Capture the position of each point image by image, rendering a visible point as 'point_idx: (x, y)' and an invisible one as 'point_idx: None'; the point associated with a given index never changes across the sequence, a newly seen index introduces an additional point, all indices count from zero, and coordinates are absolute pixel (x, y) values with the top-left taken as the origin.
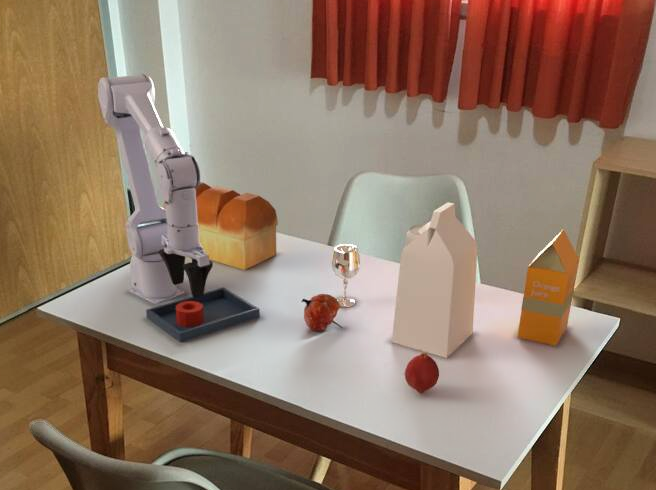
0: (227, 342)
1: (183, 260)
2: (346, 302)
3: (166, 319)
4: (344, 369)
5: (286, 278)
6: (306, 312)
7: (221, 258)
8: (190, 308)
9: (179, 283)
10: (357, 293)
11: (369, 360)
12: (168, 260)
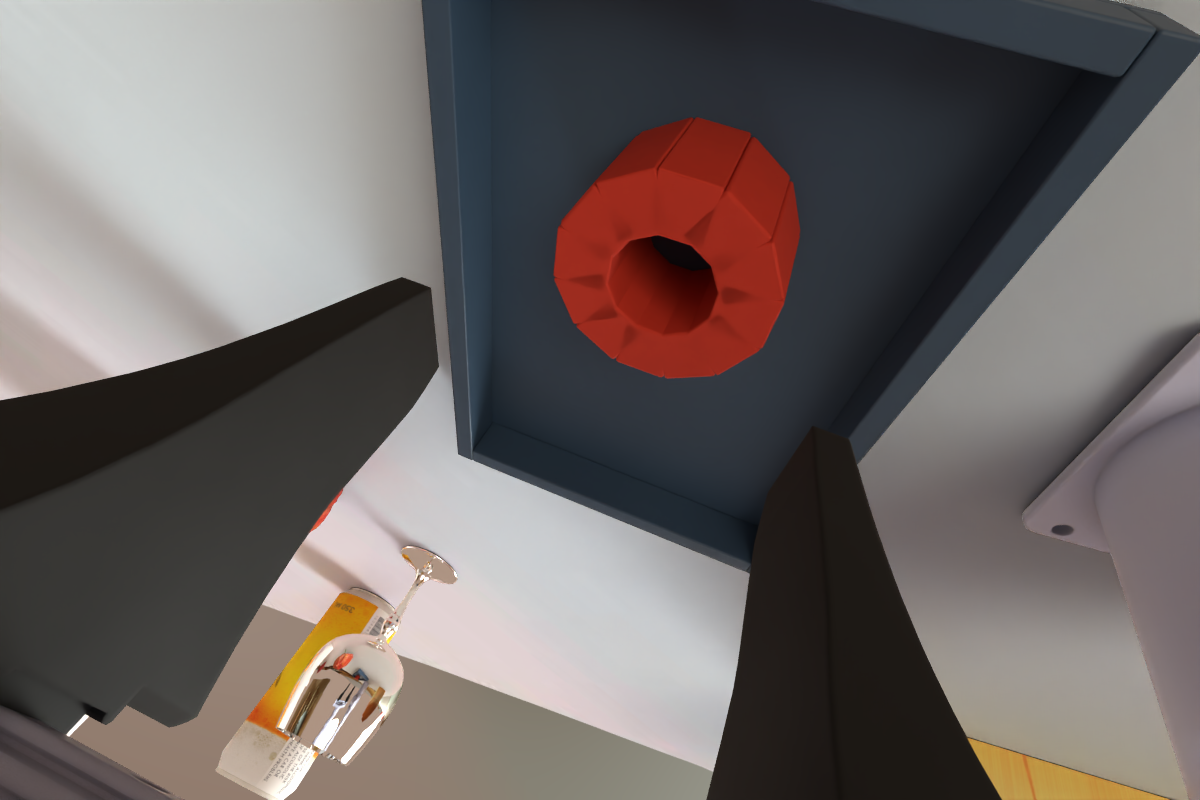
0: (344, 148)
1: (719, 764)
2: (412, 562)
3: (895, 133)
4: (30, 242)
5: (674, 658)
6: None
7: (1014, 775)
8: (701, 306)
9: (786, 468)
10: (458, 604)
11: (87, 326)
12: (815, 797)
